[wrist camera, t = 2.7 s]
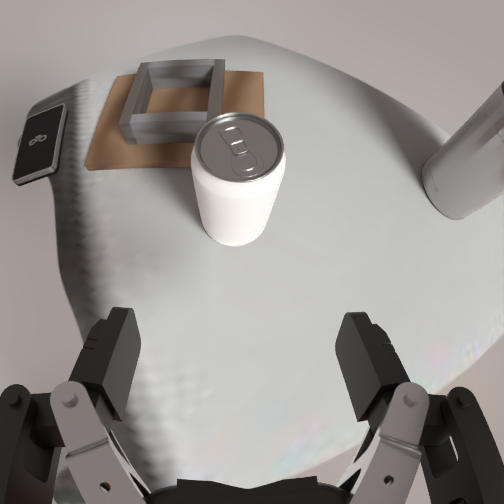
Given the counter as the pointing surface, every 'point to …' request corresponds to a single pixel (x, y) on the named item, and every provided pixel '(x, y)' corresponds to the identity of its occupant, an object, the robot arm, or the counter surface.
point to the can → (237, 175)
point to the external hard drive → (40, 145)
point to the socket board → (168, 112)
